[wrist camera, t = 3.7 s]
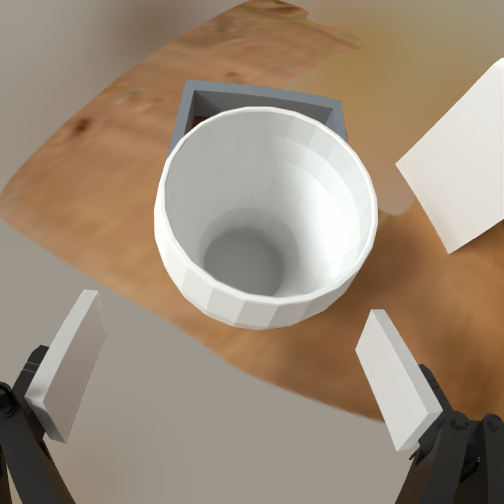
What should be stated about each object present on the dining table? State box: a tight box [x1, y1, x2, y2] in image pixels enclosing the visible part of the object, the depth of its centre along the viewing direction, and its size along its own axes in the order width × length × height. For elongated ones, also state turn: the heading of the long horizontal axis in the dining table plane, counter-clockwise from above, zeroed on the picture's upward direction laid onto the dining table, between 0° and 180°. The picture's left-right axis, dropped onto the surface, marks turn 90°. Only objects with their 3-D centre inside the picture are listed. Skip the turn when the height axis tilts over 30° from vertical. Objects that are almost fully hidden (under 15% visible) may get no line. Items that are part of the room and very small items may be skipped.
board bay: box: [167, 80, 347, 159], centre depth 30 cm, size 16×10×4 cm, turn 87°
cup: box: [154, 107, 378, 330], centre depth 20 cm, size 11×11×15 cm
